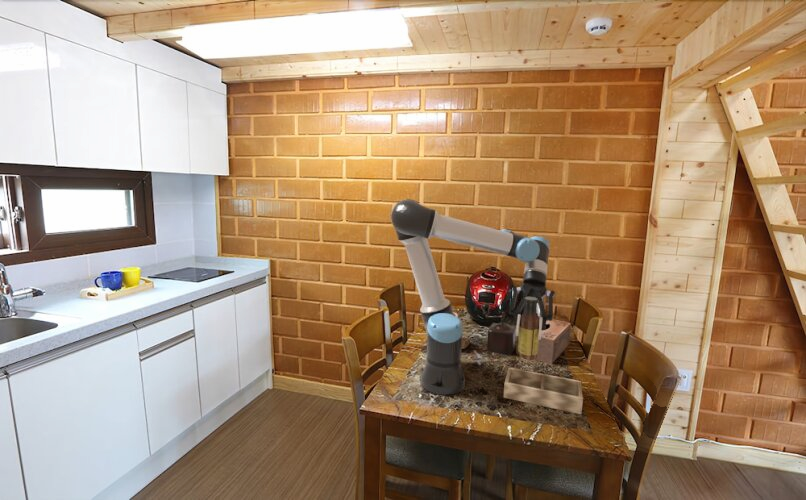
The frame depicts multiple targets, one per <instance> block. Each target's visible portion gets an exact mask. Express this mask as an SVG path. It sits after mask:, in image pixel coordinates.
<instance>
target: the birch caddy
mask: <svg viewBox="0 0 806 500" xmlns="http://www.w3.org/2000/svg"><path fill="white" fill-rule="evenodd" d="M503 386H504V387H503V399H509V400H514V401H517V402H524V403H527V404H533V405H536V406H541V407H545V408H550V409H554V410H559V411H563V412H569V413H573V414H579V415H582V412H583V411H582V410H583V402H584V398H583V390H582V382H581V380H576V379H572V378H566V377H562V376H561V377H560V376H556V375H551V374H545V373H539V372H536V371H534V372H533V371H530V370H523V369H518V368H514V367H508V369H507V373H506V376H505V381H504V385H503Z"/></svg>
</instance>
